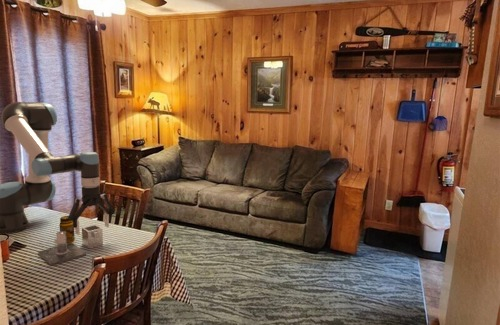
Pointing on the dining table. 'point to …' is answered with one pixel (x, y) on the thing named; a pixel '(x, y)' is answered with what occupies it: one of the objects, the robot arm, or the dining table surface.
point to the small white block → (92, 236)
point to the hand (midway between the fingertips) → (92, 230)
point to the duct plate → (61, 258)
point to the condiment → (67, 229)
